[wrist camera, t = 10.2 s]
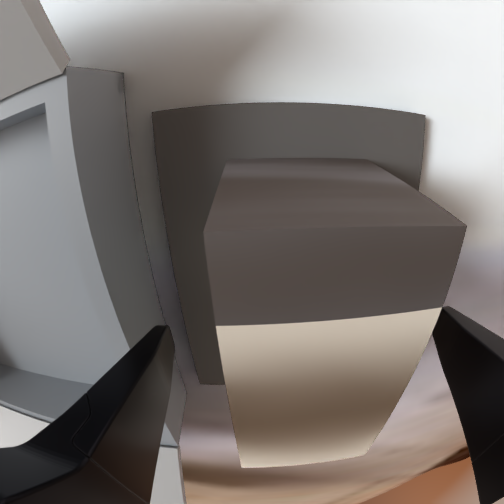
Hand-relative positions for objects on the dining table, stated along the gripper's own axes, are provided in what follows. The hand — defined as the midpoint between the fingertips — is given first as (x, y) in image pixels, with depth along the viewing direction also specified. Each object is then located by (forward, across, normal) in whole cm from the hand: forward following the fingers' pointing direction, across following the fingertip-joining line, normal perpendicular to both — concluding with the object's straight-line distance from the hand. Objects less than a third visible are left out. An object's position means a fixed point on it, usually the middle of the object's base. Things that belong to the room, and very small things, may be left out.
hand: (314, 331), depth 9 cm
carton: (+4, +15, +1) cm, 16 cm away
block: (+4, 0, 0) cm, 4 cm away
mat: (+4, 0, +1) cm, 4 cm away
